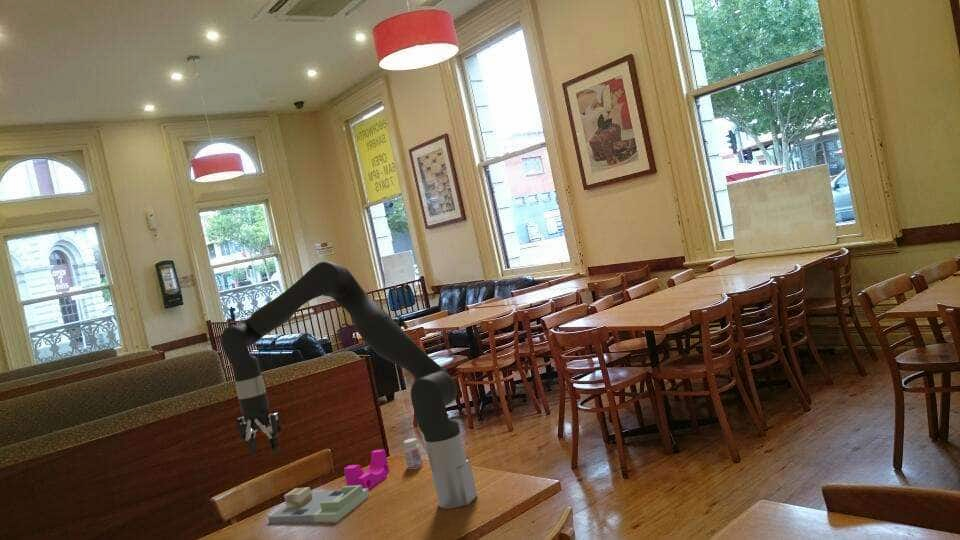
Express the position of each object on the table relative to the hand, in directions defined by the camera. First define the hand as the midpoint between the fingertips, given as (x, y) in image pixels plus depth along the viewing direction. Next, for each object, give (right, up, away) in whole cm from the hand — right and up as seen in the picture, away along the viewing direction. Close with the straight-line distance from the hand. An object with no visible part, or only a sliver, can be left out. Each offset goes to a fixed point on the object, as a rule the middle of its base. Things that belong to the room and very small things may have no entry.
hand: (264, 451), depth 189 cm
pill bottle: (+41, -9, +17) cm, 45 cm away
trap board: (+17, -15, -5) cm, 23 cm away
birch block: (+11, -14, -3) cm, 17 cm away
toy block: (+29, -12, +10) cm, 33 cm away
